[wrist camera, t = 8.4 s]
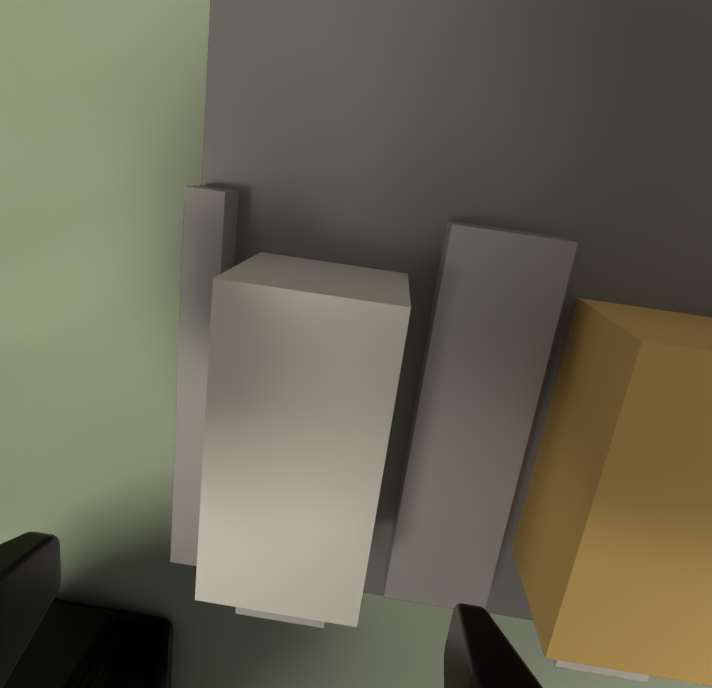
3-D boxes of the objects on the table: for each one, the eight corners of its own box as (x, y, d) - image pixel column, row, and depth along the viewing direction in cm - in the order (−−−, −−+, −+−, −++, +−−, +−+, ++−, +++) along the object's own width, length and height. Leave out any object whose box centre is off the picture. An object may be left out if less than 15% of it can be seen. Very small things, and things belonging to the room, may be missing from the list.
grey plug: (407, 273, 15) (411, 307, 11) (361, 558, 17) (350, 665, 14) (260, 252, 15) (212, 277, 11) (237, 537, 18) (192, 638, 14)
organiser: (653, 608, 19) (694, 676, 16) (199, 534, 19) (169, 588, 17) (963, -231, 12) (1117, -343, 9) (248, -312, 12) (208, -439, 10)
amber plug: (730, 320, 14) (850, 372, 11) (631, 601, 17) (697, 723, 13) (577, 297, 14) (641, 340, 11) (503, 580, 17) (533, 695, 13)
